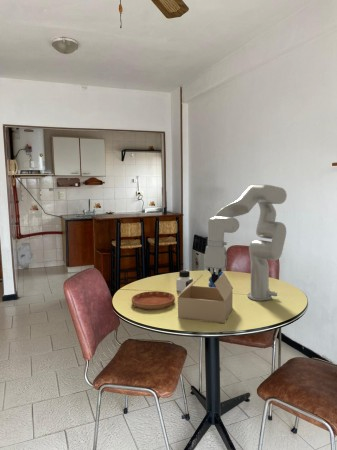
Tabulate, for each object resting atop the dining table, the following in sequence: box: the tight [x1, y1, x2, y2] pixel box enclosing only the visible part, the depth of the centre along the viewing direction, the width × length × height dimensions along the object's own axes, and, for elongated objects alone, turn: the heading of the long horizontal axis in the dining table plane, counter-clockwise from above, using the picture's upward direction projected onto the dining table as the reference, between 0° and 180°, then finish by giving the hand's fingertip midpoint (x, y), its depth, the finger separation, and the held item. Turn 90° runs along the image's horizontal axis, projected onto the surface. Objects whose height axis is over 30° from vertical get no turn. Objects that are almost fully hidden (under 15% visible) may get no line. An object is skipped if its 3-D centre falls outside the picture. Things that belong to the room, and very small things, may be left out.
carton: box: [177, 285, 233, 324], centre depth 168 cm, size 22×20×10 cm
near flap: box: [214, 272, 234, 301], centre depth 164 cm, size 9×19×1 cm
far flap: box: [177, 274, 203, 297], centre depth 170 cm, size 9×19×1 cm
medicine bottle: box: [175, 269, 194, 293], centre depth 204 cm, size 7×7×12 cm
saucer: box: [131, 290, 176, 310], centre depth 184 cm, size 23×23×4 cm
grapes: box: [208, 271, 224, 288], centre depth 205 cm, size 12×7×12 cm, turn 122°
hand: (214, 282), depth 165 cm, fingers closed
